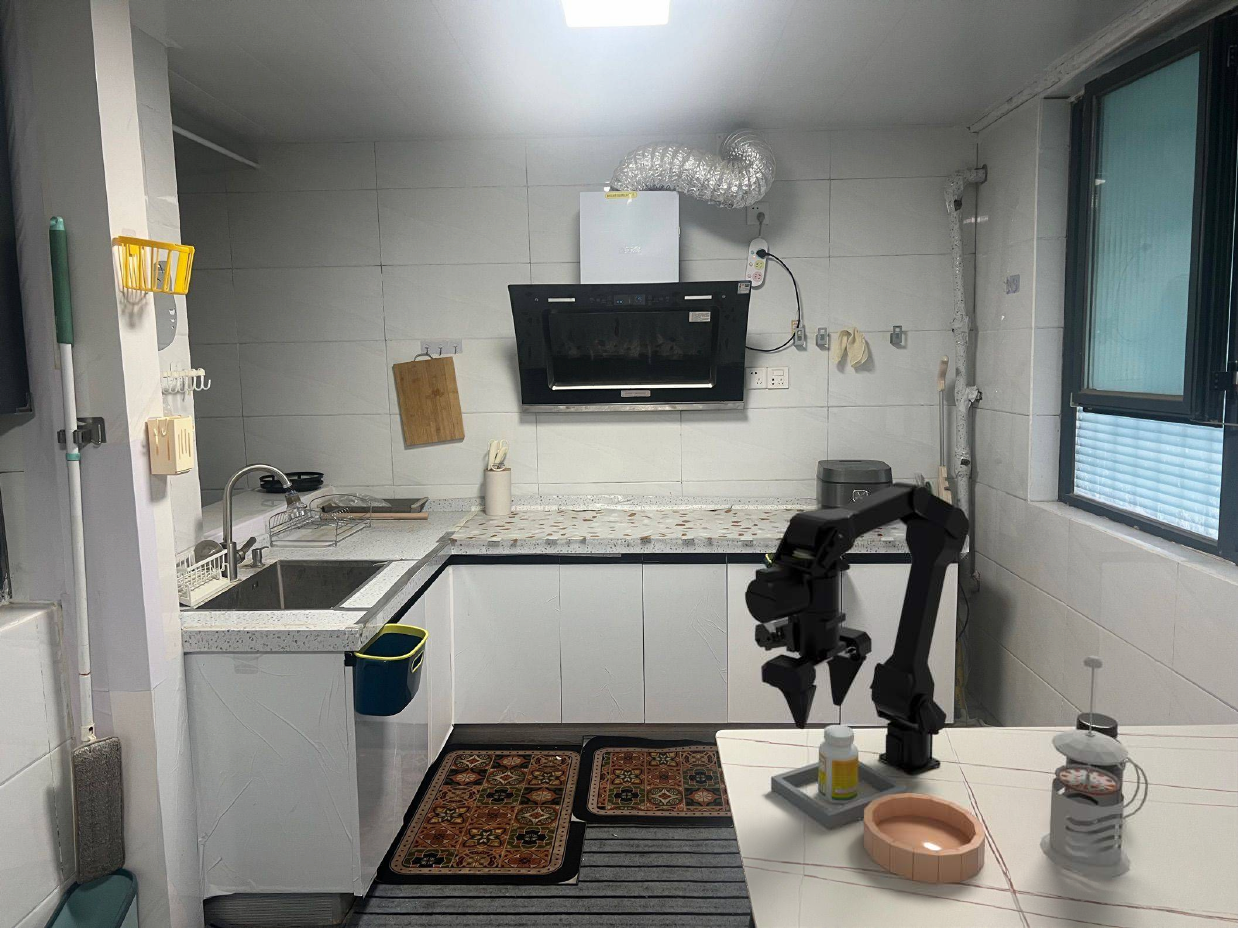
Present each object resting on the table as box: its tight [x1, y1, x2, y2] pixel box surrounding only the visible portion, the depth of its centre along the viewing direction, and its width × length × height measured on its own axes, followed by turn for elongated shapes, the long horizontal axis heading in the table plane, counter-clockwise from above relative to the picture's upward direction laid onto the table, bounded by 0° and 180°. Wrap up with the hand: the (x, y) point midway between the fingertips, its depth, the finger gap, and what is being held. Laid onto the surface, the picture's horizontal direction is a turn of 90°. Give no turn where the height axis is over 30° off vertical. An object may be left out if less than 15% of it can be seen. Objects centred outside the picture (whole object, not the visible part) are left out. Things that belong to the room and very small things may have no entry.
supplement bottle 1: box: [817, 724, 859, 805], centre depth 118 cm, size 5×5×10 cm
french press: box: [1039, 655, 1149, 878], centre depth 103 cm, size 10×12×25 cm
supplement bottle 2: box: [1063, 712, 1125, 805], centre depth 115 cm, size 7×7×12 cm
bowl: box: [863, 792, 986, 885], centre depth 106 cm, size 14×14×4 cm
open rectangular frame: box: [770, 760, 908, 831], centre depth 119 cm, size 14×12×2 cm
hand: (819, 716), depth 117 cm, fingers open, 9 cm apart
